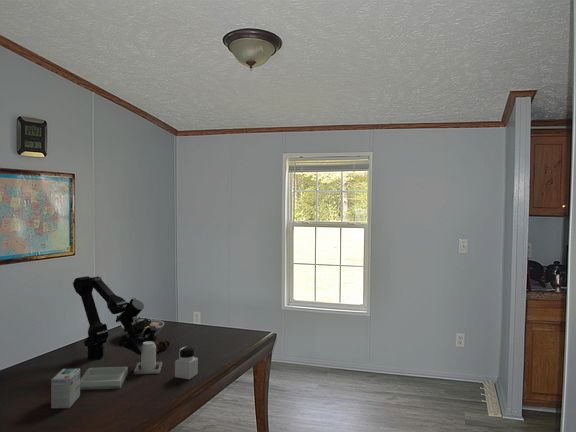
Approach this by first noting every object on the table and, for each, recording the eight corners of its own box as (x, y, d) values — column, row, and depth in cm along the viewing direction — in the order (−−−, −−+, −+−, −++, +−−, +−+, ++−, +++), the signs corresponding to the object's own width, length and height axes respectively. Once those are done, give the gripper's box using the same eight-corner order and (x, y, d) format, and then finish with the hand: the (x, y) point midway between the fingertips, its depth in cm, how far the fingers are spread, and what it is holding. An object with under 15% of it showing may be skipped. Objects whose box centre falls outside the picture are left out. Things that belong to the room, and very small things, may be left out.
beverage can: (140, 372, 202) (141, 345, 202) (141, 367, 208) (141, 341, 208) (155, 371, 204) (155, 344, 204) (155, 366, 210) (156, 340, 209)
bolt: (168, 350, 238) (152, 359, 224) (160, 345, 239) (144, 353, 225) (173, 341, 237) (158, 349, 223) (166, 335, 239) (150, 343, 224)
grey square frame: (133, 374, 200) (133, 370, 200) (138, 365, 210) (138, 362, 210) (159, 373, 202) (159, 370, 202) (162, 365, 212) (162, 361, 212)
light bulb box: (62, 396, 177) (62, 368, 176) (80, 396, 177) (80, 367, 177) (50, 408, 166) (50, 378, 166) (70, 408, 167) (70, 378, 166)
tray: (77, 389, 183) (77, 382, 183) (88, 374, 198) (88, 367, 198) (120, 388, 185) (120, 380, 185) (127, 373, 201) (128, 366, 201)
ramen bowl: (157, 345, 241) (157, 329, 241) (113, 344, 242) (113, 328, 241) (169, 331, 266) (170, 317, 266) (130, 330, 267) (130, 316, 266)
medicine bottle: (197, 374, 202) (198, 346, 202) (189, 379, 195) (189, 351, 195) (183, 371, 204) (183, 344, 204) (174, 377, 197) (174, 349, 197)
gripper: (123, 316, 199) (142, 346, 195) (153, 308, 216) (172, 335, 212) (110, 332, 203) (128, 361, 199) (141, 323, 220) (159, 349, 215)
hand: (148, 351), depth 206 cm, fingers open, 9 cm apart
